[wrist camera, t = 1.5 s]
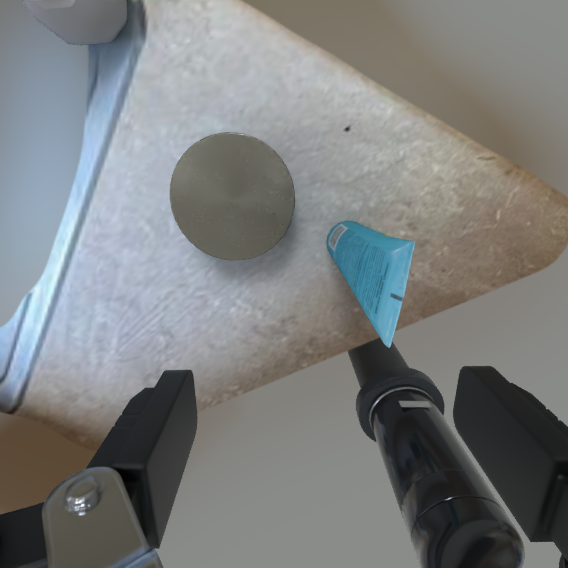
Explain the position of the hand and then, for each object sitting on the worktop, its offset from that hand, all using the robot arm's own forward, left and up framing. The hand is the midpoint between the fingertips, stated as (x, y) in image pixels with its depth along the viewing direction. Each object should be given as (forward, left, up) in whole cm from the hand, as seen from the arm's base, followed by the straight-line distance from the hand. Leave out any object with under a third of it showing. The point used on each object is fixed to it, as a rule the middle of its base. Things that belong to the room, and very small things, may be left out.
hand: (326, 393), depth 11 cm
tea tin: (+6, +4, -32) cm, 33 cm away
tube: (-4, -5, -32) cm, 33 cm away
